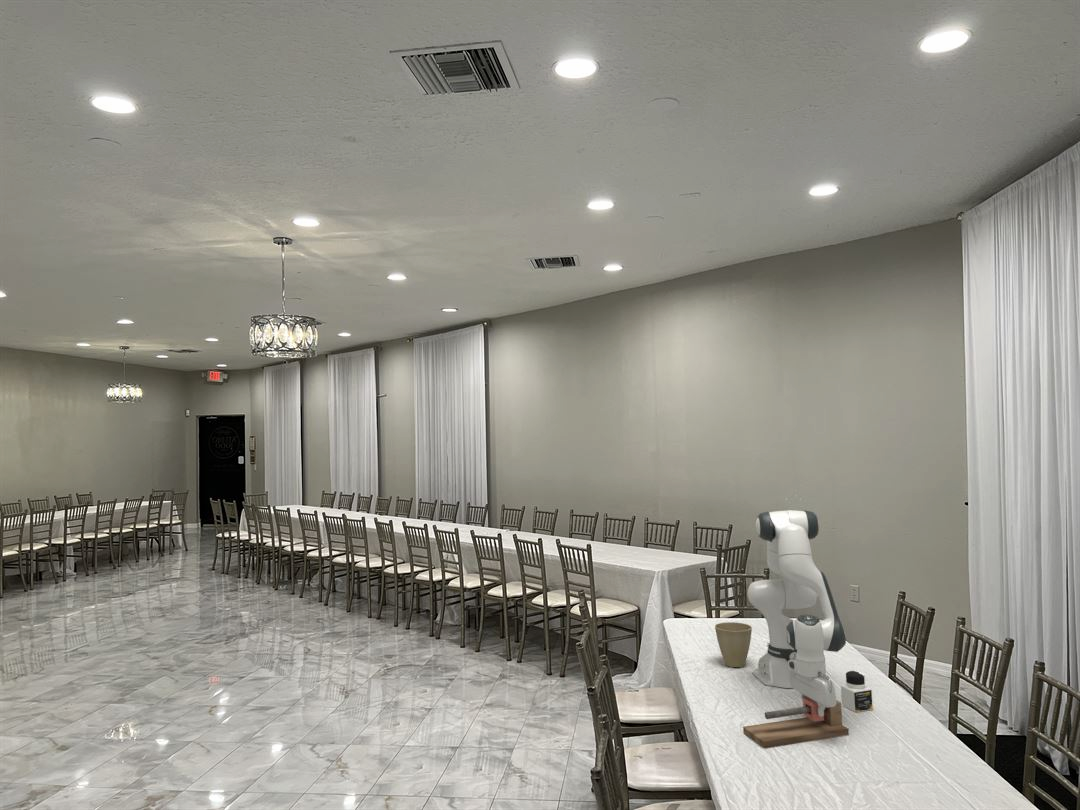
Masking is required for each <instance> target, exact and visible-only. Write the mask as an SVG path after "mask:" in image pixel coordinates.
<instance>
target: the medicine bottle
mask: <svg viewBox="0 0 1080 810" xmlns="http://www.w3.org/2000/svg"><path fill="white" fill-rule="evenodd" d="M845 681H846V684H841V685H840V693H841V694H840V695H841V697H840V698H841V706H842V705H843V706H842V707H844V708H847V709H848V710H850V711H852V712H854V713H860V712H861V711H862V712H867V711H866V710H868V711H872V710H873V709H874V708H873V693H872V688H870V687H868V686H866V675H865V674H864V673H863V672H861V671H858V670H849V671H847V672H846V673H845Z"/></svg>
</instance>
